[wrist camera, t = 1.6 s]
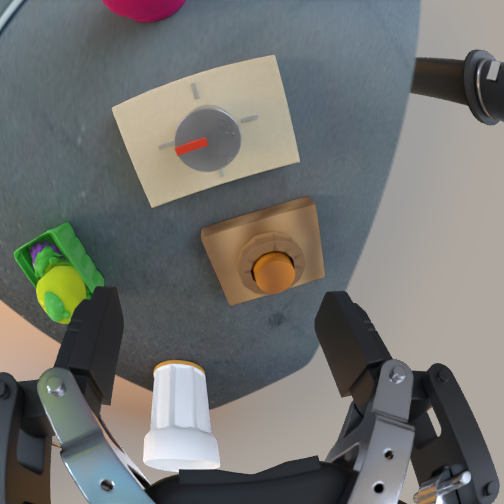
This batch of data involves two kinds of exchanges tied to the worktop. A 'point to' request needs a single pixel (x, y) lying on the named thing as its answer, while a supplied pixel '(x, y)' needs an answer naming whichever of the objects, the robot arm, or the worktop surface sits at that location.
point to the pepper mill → (144, 8)
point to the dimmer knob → (207, 139)
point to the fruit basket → (59, 271)
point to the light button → (274, 272)
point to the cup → (180, 420)
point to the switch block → (264, 246)
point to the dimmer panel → (218, 94)
